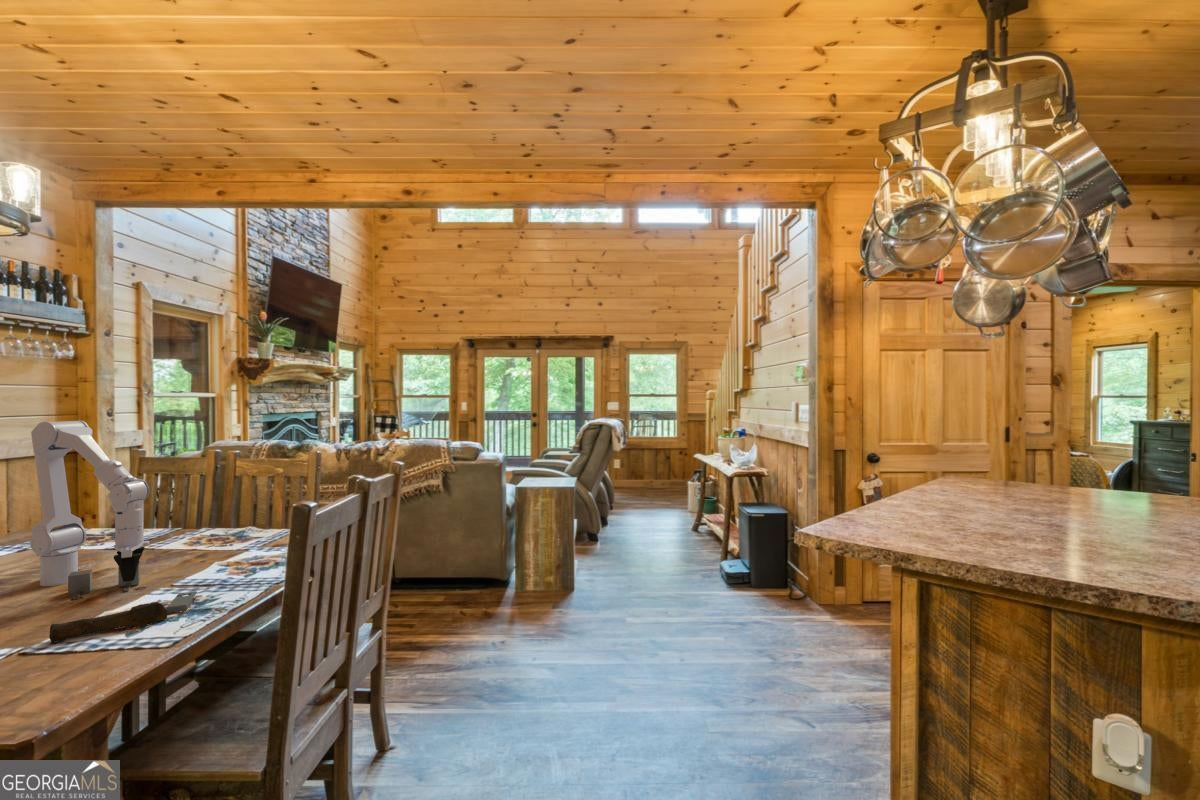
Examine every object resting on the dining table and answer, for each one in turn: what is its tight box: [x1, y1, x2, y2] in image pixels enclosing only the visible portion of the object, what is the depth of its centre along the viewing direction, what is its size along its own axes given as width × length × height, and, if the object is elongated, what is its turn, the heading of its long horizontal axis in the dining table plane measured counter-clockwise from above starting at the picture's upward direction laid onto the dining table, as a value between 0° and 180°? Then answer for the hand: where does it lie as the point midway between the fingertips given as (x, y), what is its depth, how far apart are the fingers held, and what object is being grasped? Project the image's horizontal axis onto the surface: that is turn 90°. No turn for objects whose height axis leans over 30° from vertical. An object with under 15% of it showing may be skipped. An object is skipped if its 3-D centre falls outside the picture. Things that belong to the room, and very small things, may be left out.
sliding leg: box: [117, 561, 141, 592], centre depth 144 cm, size 8×4×5 cm, turn 36°
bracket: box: [165, 591, 198, 614], centre depth 135 cm, size 4×10×2 cm, turn 25°
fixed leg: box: [67, 569, 93, 601], centre depth 138 cm, size 8×4×5 cm, turn 36°
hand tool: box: [48, 601, 168, 645], centre depth 120 cm, size 19×4×5 cm, turn 127°
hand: (129, 578), depth 146 cm, fingers closed on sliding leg, 4 cm apart
